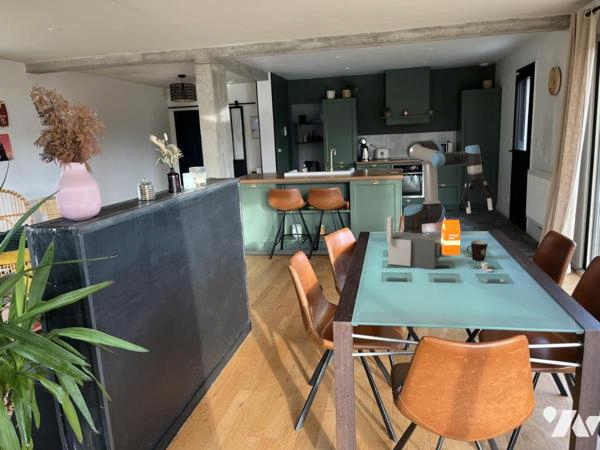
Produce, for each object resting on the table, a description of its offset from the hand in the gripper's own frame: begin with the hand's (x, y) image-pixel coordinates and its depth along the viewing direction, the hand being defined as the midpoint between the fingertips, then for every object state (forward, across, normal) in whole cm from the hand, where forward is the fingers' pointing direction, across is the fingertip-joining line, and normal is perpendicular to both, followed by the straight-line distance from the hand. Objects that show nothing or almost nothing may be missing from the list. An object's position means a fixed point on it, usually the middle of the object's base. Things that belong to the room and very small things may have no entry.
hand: (479, 211), depth 251 cm
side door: (+22, -51, +2) cm, 56 cm away
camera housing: (+24, -40, +4) cm, 47 cm away
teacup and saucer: (+30, -14, -17) cm, 37 cm away
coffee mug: (+26, -5, +2) cm, 27 cm away
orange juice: (+23, -11, +18) cm, 31 cm away
